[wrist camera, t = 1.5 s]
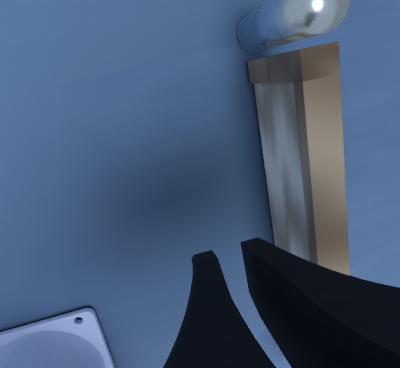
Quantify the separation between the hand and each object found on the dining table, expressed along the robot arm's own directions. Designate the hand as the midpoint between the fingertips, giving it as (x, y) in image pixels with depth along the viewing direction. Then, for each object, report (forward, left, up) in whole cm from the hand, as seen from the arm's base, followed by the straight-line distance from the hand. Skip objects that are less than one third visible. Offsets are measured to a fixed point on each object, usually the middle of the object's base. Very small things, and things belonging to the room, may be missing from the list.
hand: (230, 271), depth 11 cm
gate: (+5, -2, -9) cm, 11 cm away
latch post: (+5, +8, -9) cm, 14 cm away
